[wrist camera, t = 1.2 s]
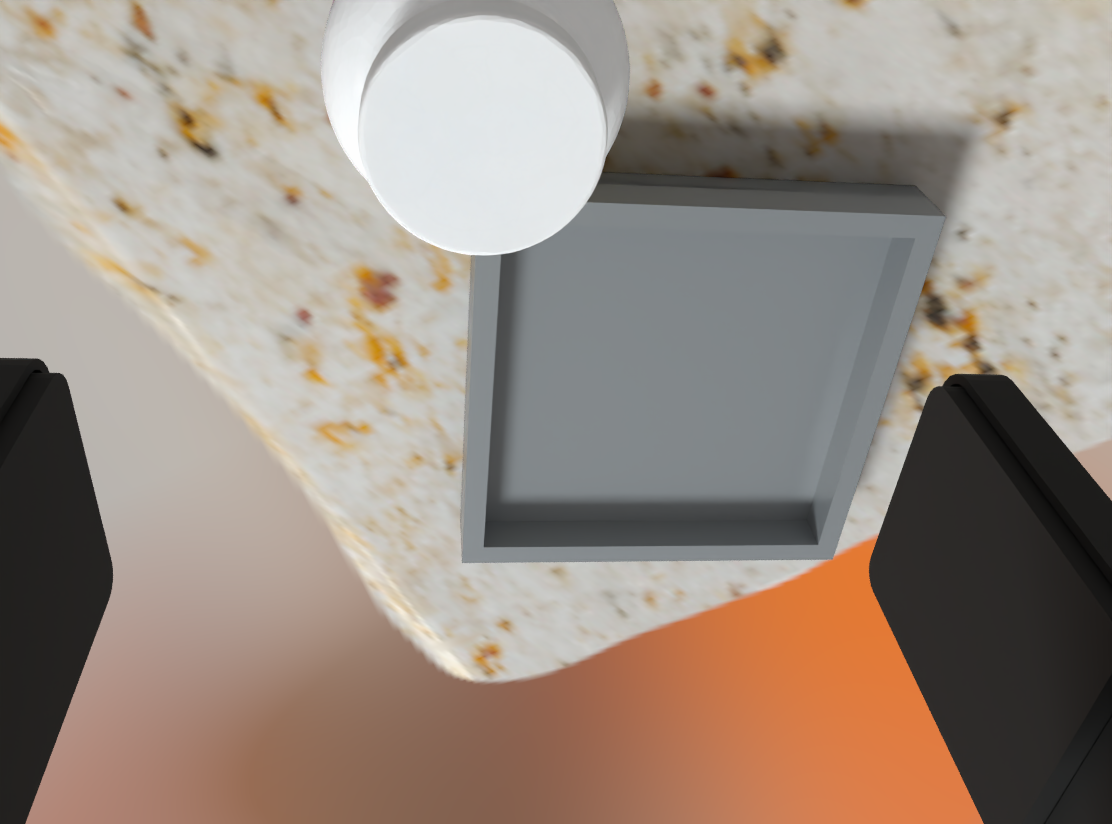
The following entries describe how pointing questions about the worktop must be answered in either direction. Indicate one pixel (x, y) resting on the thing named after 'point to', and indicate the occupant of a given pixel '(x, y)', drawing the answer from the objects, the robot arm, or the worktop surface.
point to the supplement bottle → (477, 111)
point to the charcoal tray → (687, 369)
